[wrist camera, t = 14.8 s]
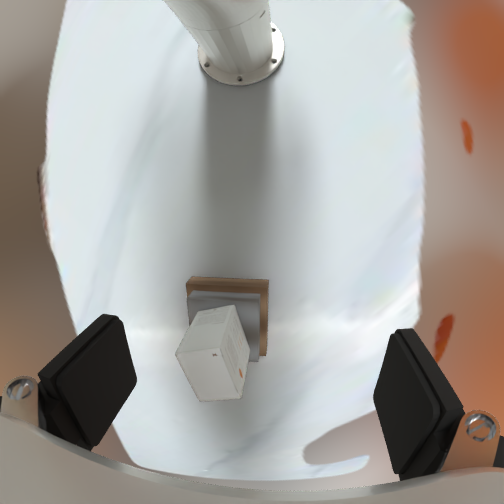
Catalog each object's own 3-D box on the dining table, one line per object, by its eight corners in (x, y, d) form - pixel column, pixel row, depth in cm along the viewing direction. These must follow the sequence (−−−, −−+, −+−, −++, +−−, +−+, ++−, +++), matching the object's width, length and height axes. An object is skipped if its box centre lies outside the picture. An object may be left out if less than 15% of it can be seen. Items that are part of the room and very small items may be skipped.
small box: (197, 310, 40) (172, 352, 30) (235, 302, 39) (219, 346, 29) (215, 355, 42) (198, 403, 32) (251, 350, 41) (241, 400, 31)
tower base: (191, 276, 45) (179, 291, 39) (268, 279, 44) (266, 296, 38) (197, 340, 48) (188, 360, 43) (267, 345, 47) (264, 367, 41)
